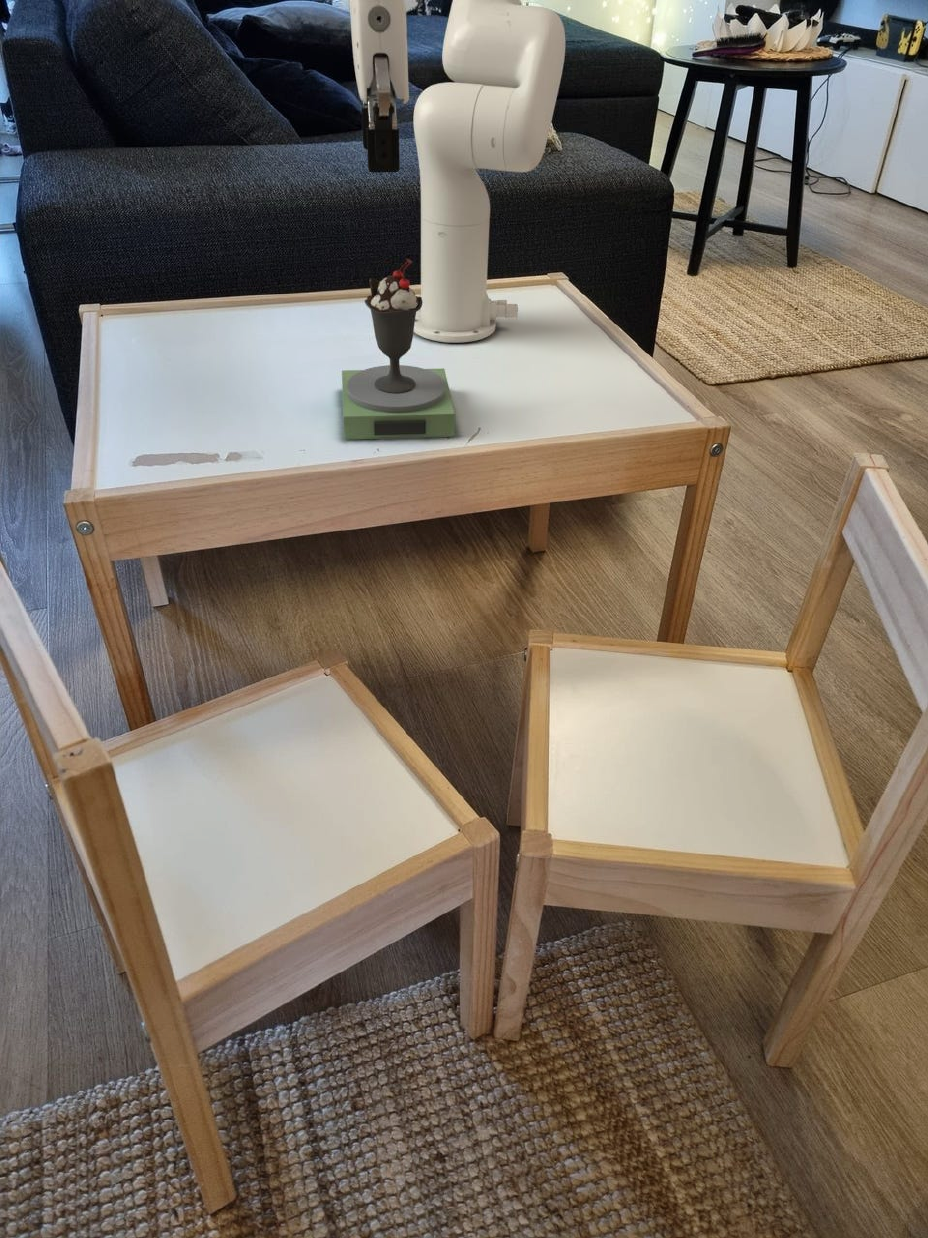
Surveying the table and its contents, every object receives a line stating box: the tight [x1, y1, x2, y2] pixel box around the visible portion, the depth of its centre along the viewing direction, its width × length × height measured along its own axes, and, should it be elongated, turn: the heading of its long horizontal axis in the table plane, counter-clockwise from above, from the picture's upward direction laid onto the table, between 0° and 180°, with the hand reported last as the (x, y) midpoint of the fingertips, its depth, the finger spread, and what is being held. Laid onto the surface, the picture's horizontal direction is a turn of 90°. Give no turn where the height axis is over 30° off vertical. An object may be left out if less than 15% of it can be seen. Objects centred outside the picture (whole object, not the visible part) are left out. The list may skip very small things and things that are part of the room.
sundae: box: [363, 258, 423, 393], centre depth 106 cm, size 7×7×15 cm
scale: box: [341, 364, 456, 441], centre depth 112 cm, size 13×14×4 cm
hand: (380, 159), depth 98 cm, fingers open, 9 cm apart
